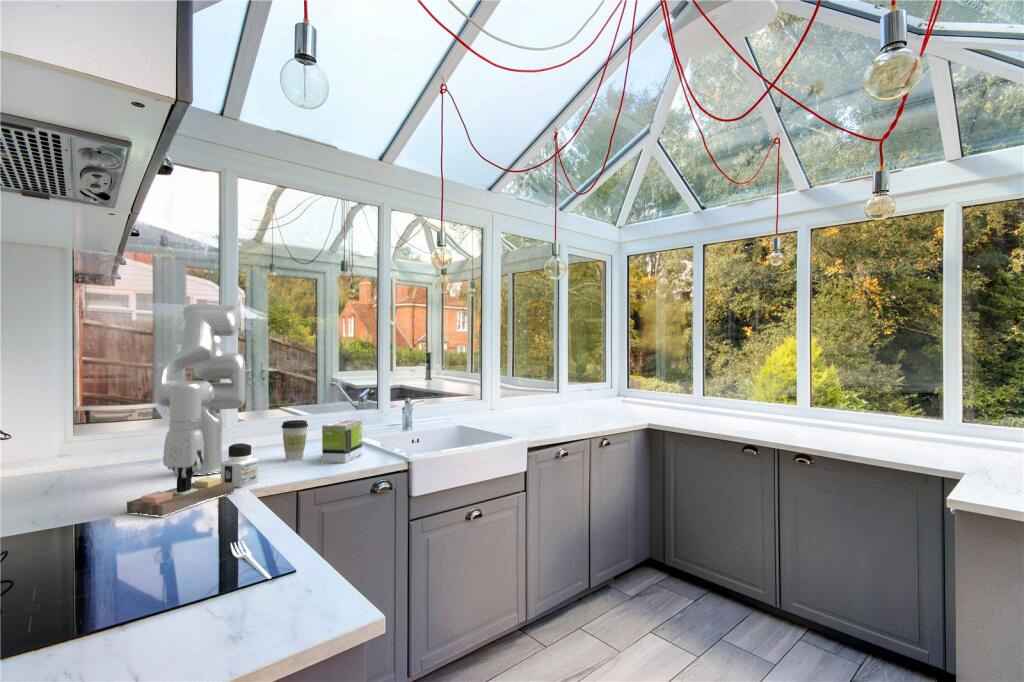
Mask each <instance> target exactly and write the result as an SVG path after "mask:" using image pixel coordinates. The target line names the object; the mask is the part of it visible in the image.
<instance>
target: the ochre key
mask: <svg viewBox="0 0 1024 682" xmlns="http://www.w3.org/2000/svg"><path fill="white" fill-rule="evenodd" d="M194 482H195V486H196V487H207V488H208V487H211V486H214V485H218V484H221V477H213V476H207V477H204V478H201V479H200V478H199V479H197V480H194Z"/></svg>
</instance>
